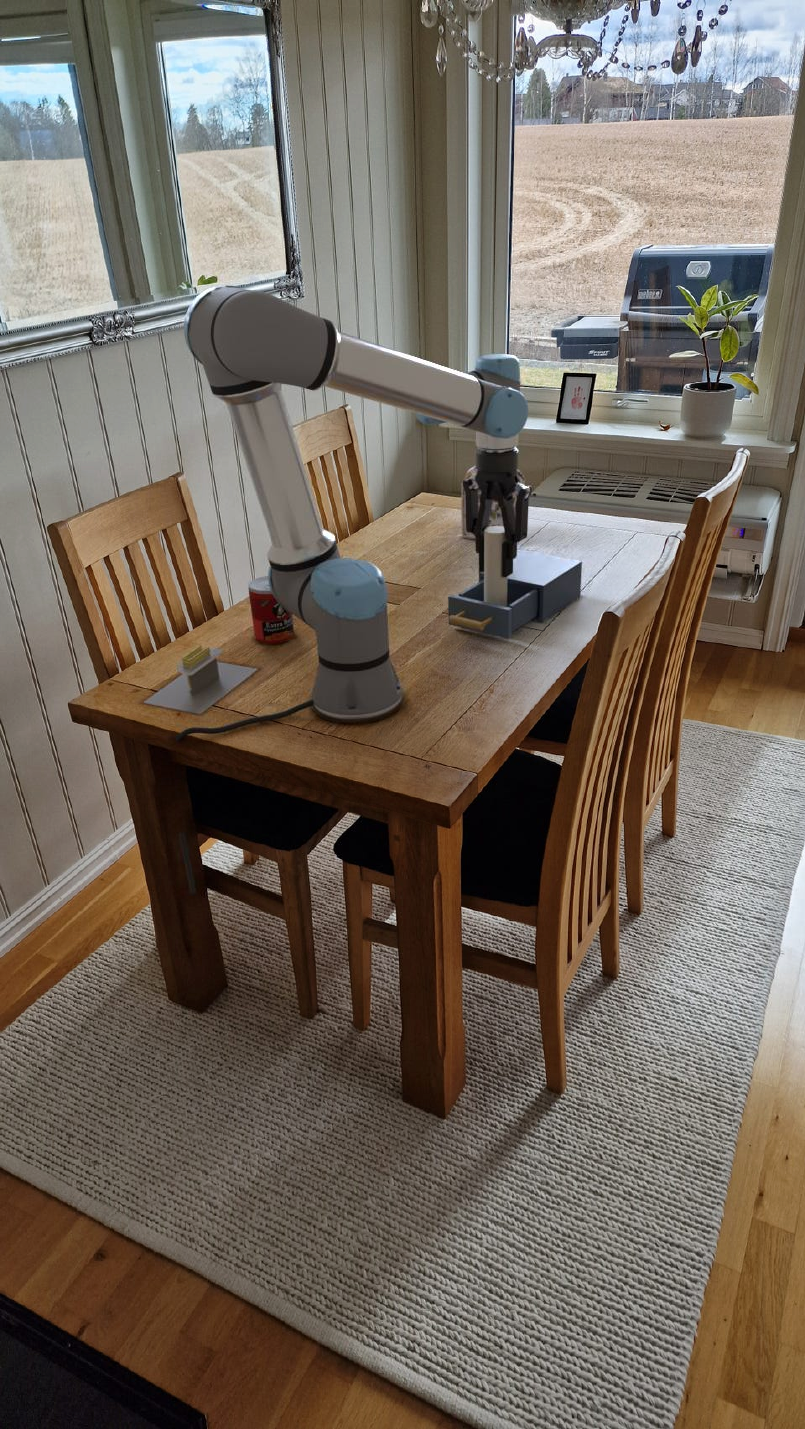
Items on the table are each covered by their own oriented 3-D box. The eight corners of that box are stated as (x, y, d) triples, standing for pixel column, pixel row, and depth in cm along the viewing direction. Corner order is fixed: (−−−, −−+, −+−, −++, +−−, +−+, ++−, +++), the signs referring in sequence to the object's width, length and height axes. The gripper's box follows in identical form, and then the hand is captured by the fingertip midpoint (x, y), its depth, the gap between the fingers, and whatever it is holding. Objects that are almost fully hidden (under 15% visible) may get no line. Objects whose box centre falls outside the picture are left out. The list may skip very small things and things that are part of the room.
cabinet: (542, 622, 187) (543, 585, 183) (479, 607, 195) (478, 572, 191) (580, 596, 198) (582, 561, 194) (518, 583, 206) (519, 549, 202)
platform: (142, 702, 165) (135, 668, 162) (203, 659, 179) (198, 626, 176) (200, 714, 160) (194, 678, 157) (258, 668, 175) (254, 635, 171)
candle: (495, 611, 183) (496, 534, 176) (479, 605, 186) (479, 529, 179) (511, 605, 185) (513, 529, 178) (495, 599, 188) (495, 524, 181)
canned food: (266, 648, 182) (259, 593, 177) (247, 634, 188) (240, 581, 183) (301, 637, 186) (296, 584, 180) (282, 625, 192) (276, 572, 186)
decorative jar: (460, 538, 233) (459, 463, 225) (481, 524, 242) (481, 452, 233) (505, 544, 228) (506, 468, 219) (525, 530, 236) (527, 456, 228)
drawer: (495, 648, 176) (495, 618, 173) (435, 632, 183) (434, 604, 180) (547, 613, 189) (547, 585, 186) (488, 599, 196) (488, 572, 193)
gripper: (551, 448, 169) (546, 575, 180) (467, 438, 178) (467, 558, 190) (529, 458, 164) (525, 587, 175) (444, 446, 173) (446, 570, 184)
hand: (495, 572), depth 182 cm, fingers closed on candle, 4 cm apart
